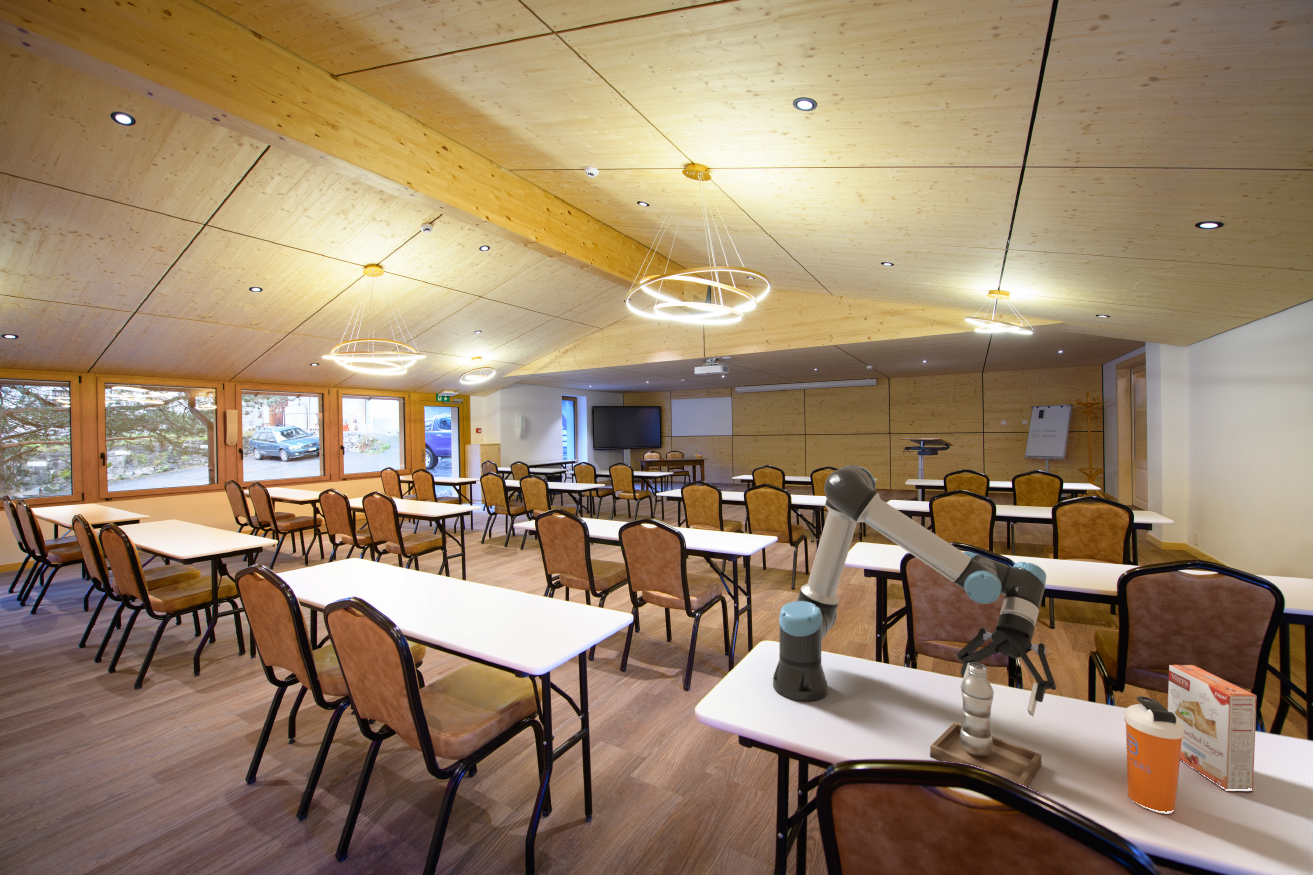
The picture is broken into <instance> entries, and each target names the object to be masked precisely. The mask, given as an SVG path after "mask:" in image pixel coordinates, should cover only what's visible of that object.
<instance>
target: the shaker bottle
mask: <svg viewBox="0 0 1313 875" xmlns="http://www.w3.org/2000/svg"><path fill="white" fill-rule="evenodd" d="M1136 700H1137V701H1138V702H1139V704H1138V703H1136V704H1132V705H1130V706H1127V707H1126V708H1125V709H1124V719H1123V720H1124V722H1125V737H1126V739H1125V741H1126V769H1127V770H1126V771H1127V772H1126V774H1127V776H1126V777H1127V779H1126V780H1127V795H1128V797H1130V798H1131V799H1132V800H1133V801H1135V802H1137V803H1138V804H1141V805H1143V806H1145V807H1148V808H1151V809H1154V810H1158V811H1165V812H1167V811H1172V810H1174V809H1175V810H1176V804H1177V802H1176V801H1177V792H1178V784H1179V783H1178V782H1179V772H1180V762H1181V761H1180V755H1181V745H1182V738H1183V737H1184V725H1183V724H1182V723H1181V721H1180V720H1179V719H1178V718H1177V717H1176V715H1175V714H1174V713H1173V712H1168V708H1166V707H1164V705H1163V704H1161V702H1159V701H1158V700H1156V699H1155V698H1151V697H1148V696H1145V695H1144V696H1141V695H1139V696H1137V697H1136ZM1130 798H1129V799H1130ZM1131 799H1130V800H1131ZM1132 800H1131V801H1132ZM1133 801H1132V802H1133Z"/></svg>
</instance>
